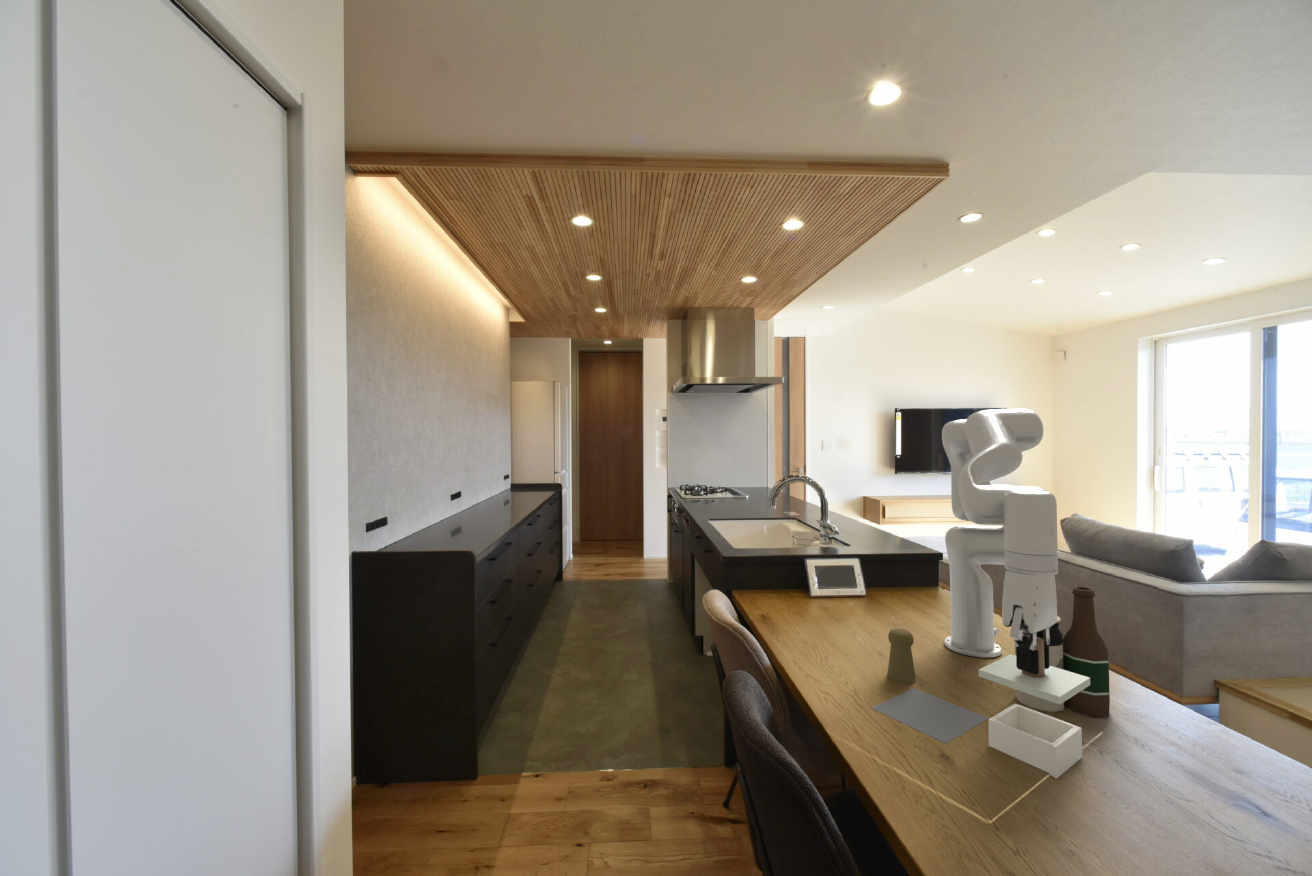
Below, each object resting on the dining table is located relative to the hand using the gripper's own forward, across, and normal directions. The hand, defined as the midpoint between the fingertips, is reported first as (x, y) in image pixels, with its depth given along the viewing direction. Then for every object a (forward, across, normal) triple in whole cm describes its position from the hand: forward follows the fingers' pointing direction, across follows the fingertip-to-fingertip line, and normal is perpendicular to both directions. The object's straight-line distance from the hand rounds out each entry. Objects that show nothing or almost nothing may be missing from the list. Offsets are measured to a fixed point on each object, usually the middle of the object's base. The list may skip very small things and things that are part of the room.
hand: (1033, 667), depth 90 cm
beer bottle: (+15, -25, -1) cm, 29 cm away
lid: (+2, 0, 0) cm, 2 cm away
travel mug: (+15, -20, -7) cm, 26 cm away
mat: (+15, +3, -17) cm, 23 cm away
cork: (+15, -7, -29) cm, 33 cm away
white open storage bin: (+15, 0, 0) cm, 15 cm away
